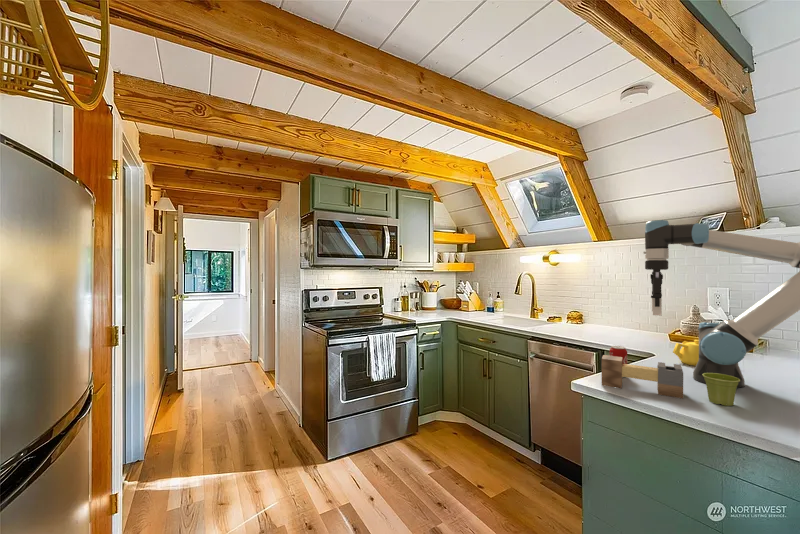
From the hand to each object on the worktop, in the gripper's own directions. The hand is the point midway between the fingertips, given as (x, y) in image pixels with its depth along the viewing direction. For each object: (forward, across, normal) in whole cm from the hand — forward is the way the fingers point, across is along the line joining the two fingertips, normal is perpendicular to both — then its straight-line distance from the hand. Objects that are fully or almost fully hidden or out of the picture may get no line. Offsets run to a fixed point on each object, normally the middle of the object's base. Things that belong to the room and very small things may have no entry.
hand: (656, 313), depth 142 cm
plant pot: (+27, +16, +17) cm, 36 cm away
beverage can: (+27, +1, -13) cm, 30 cm away
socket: (+27, +15, -14) cm, 34 cm away
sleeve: (+27, +15, +4) cm, 31 cm away
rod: (+23, +15, -7) cm, 28 cm away
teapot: (+27, -43, +16) cm, 53 cm away
